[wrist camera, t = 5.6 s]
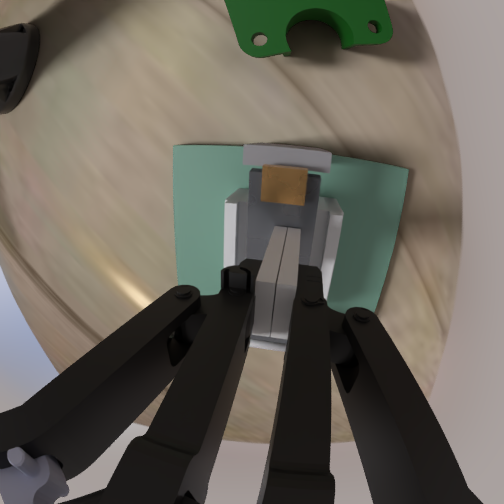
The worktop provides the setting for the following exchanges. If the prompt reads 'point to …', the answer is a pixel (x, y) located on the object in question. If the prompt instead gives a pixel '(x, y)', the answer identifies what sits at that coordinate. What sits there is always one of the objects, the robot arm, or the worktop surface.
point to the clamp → (307, 8)
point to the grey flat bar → (281, 211)
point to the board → (343, 181)
